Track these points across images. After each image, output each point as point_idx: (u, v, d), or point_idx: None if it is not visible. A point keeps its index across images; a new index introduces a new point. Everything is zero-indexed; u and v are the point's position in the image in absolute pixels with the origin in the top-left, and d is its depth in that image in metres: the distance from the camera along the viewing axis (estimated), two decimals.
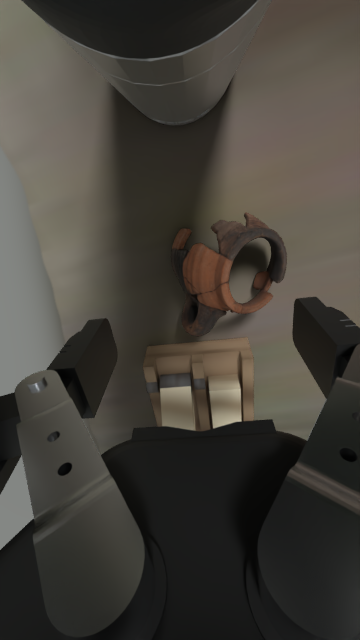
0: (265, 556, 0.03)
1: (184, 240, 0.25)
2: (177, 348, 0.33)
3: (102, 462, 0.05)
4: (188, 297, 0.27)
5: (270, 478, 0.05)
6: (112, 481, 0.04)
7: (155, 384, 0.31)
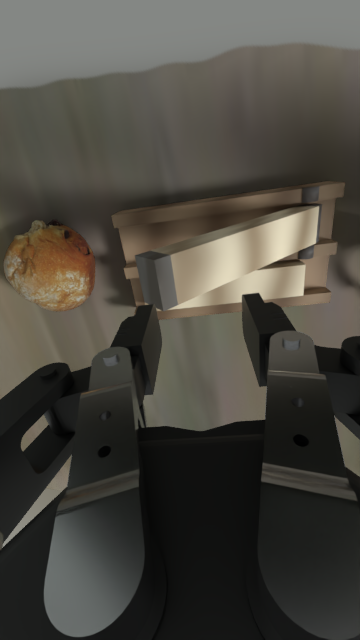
0: (265, 556, 0.03)
1: None
2: None
3: (137, 457, 0.05)
4: None
5: None
6: (137, 483, 0.04)
7: (317, 198, 0.26)
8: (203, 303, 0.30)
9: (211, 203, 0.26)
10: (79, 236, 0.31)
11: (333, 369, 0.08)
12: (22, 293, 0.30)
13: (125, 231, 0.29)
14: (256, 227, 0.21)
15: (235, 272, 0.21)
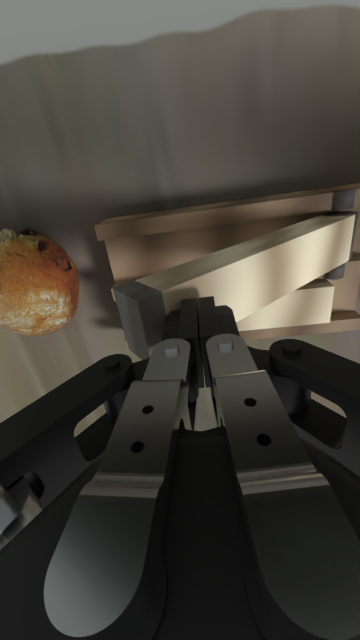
0: (265, 556, 0.03)
1: None
2: None
3: (165, 464, 0.05)
4: None
5: None
6: (155, 494, 0.04)
7: (353, 205, 0.20)
8: None
9: (218, 210, 0.21)
10: (58, 247, 0.26)
11: None
12: None
13: (112, 244, 0.24)
14: (279, 245, 0.16)
15: (251, 305, 0.16)
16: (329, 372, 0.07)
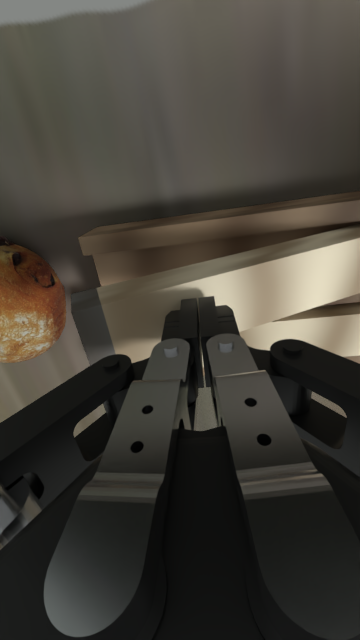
0: (265, 556, 0.03)
1: None
2: None
3: (165, 464, 0.05)
4: None
5: None
6: (155, 493, 0.04)
7: None
8: None
9: (232, 220, 0.17)
10: (38, 260, 0.22)
11: None
12: None
13: (102, 258, 0.20)
14: (269, 262, 0.13)
15: None
16: (329, 372, 0.07)
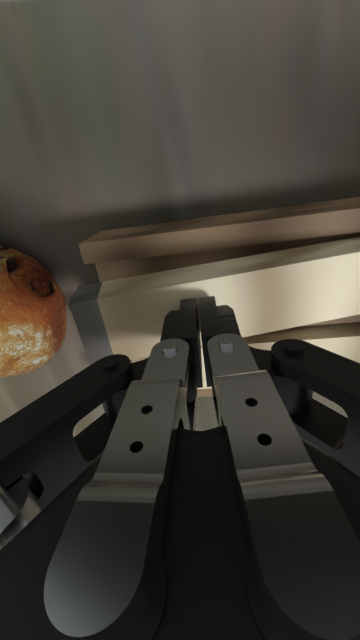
0: (265, 556, 0.03)
1: None
2: None
3: (164, 463, 0.05)
4: None
5: None
6: (155, 493, 0.04)
7: None
8: None
9: (254, 225, 0.15)
10: (36, 266, 0.20)
11: None
12: None
13: (106, 266, 0.18)
14: (276, 268, 0.13)
15: None
16: (330, 372, 0.07)
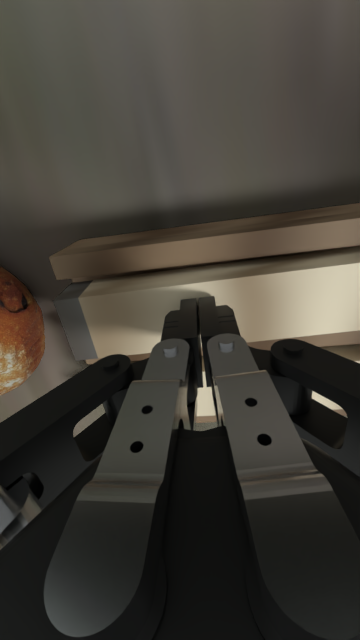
0: (265, 556, 0.03)
1: None
2: None
3: (165, 463, 0.05)
4: None
5: None
6: (155, 493, 0.04)
7: None
8: None
9: (251, 235, 0.13)
10: (6, 278, 0.18)
11: None
12: None
13: (83, 280, 0.16)
14: (258, 276, 0.12)
15: None
16: (330, 372, 0.07)
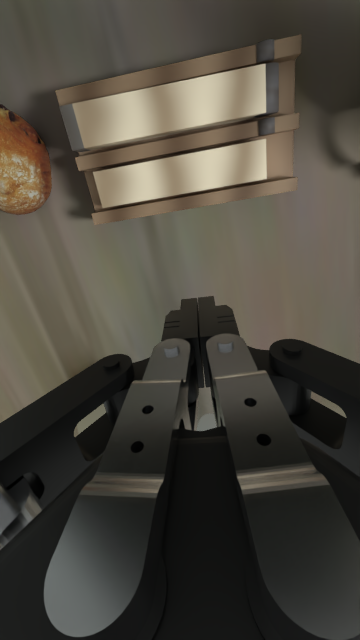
0: (265, 556, 0.03)
1: None
2: None
3: (165, 464, 0.05)
4: None
5: None
6: (155, 494, 0.04)
7: (273, 55, 0.24)
8: (161, 194, 0.28)
9: (160, 69, 0.25)
10: (28, 124, 0.29)
11: None
12: None
13: None
14: (162, 85, 0.24)
15: (141, 129, 0.25)
16: (329, 372, 0.07)
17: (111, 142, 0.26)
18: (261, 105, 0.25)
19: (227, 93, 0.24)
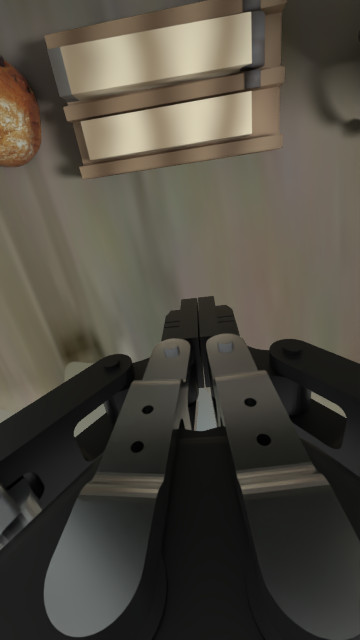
0: (265, 556, 0.03)
1: None
2: None
3: (165, 464, 0.05)
4: None
5: None
6: (155, 493, 0.04)
7: (259, 4, 0.24)
8: (148, 146, 0.29)
9: (148, 15, 0.25)
10: None
11: None
12: None
13: None
14: (150, 31, 0.24)
15: (128, 77, 0.26)
16: (329, 372, 0.07)
17: (98, 89, 0.26)
18: (247, 55, 0.25)
19: (213, 41, 0.25)
